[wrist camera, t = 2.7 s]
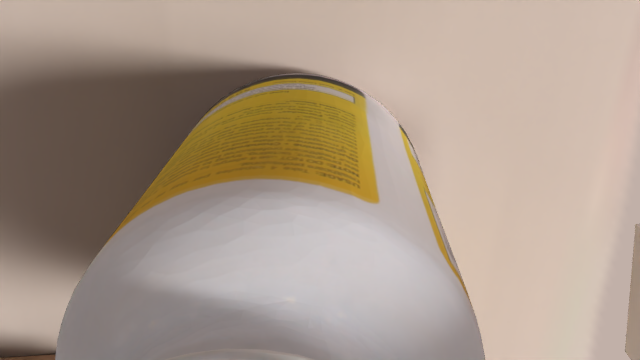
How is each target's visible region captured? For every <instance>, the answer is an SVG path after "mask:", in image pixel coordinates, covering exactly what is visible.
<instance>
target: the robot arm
mask: <svg viewBox="0 0 640 360" xmlns="http://www.w3.org/2000/svg"><path fill="white" fill-rule="evenodd" d="M625 352H626V353H627V355H628V356H629V357H630V359H631V360H640V224H636V226H635V238H634V250H633V262H632V275H631V285H630V297H629V309H628V322H627V334H626V346H625Z"/></svg>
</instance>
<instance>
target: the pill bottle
mask: <svg viewBox="0 0 640 360" xmlns="http://www.w3.org/2000/svg"><path fill="white" fill-rule="evenodd" d="M55 360H485V355H484V350H483V344H482V339H481V334H480V331H479V327H478V323H477V319H476V316H475V313H474V310H473V308H472V305H471V302H470V299H469V296H468V293H467V290H466V287H465V285H464V282H463V279H462V277H461V274H460V271H459V269H458V266H457V263H456V261H455V258H454V256H453V253H452V250H451V248H450V245H449V242H448V240H447V237H446V234H445V232H444V229H443V227H442V224H441V221H440V219H439V216H438V214H437V211H436V208H435V206H434V203H433V200H432V197H431V195H430V192H429V189H428V186H427V184H426V181H425V178H424V175H423V172H422V169H421V166H420V163H419V160H418V158H417V155H416V153H415V151H414V148H413V146H412V144H411V142H410V140H409V138H408V136H407V134H406V133H405V131H404V129H403V128H402V127H401V125H400V124H399V123H398V121H397V120H396V119H395V118H394V117H393V116H392V115H391V113H390V112H389V111H388V110H387V109H386V108H385V107H384V106H382V105H381V104H380V103H379V102H378V101H377V100H375V99H374V98H372V97H371V96H369V95H368V94H367V93H365V92H363V91H362V90H360V89H358V88H356V87H354V86H352V85H349V84H347V83H345V82H342V81H339V80H336V79H333V78H329V77H325V76H320V75H314V74H296V73H295V74H283V75H276V76H270V77H266V78H263V79H260V80H257V81H254V82H251V83H249V84H246V85H244V86H242V87H240V88H238V89H236V90H235V91H233V92H231V93H230V94H228V95H227V96H225V97H224V98H222V99H221V100H220V101H219V102H217V103H216V104H215V105H214V106H213V107H212V108H211V109H210V110H209V111H208V112H207V113H206V114H205V115H204V116H203V117H202V119H201V120H200V121H199V122H198V123H197V125H196V126H195V127H194V128H193V130H192V131H191V132H190V134H189V135H188V136H187V138H186V139H185V140H184V142H183V143H182V144H181V145H180V147H179V148H178V149H177V151H176V152H175V153H174V155H173V156H172V157H171V159H170V160H169V161H168V163H167V164H166V165H165V167H164V168H163V169H162V170H161V172H160V173H159V174H158V176H157V177H156V178H155V180H154V181H153V182H152V184H151V185H150V186H149V188H148V189H147V190H146V191H145V193H144V194H143V195H142V197H141V198H140V199H139V201H138V202H137V203H136V205H135V206H134V207H133V209H132V210H131V211H130V212H129V214H128V215H127V216H126V218H125V219H124V220H123V222H122V223H121V224H120V225H119V227H118V228H117V229H116V231H115V232H114V233H113V235H112V236H111V237H110V238H109V240H108V241H107V242H106V244H105V245H104V246H103V248H102V249H101V250H100V252H99V253H98V254H97V256H96V257H95V258H94V260H93V261H92V262H91V264H90V265H89V267H88V268H87V270H86V271H85V273H84V275H83V276H82V278H81V280H80V281H79V283H78V285H77V286H76V288H75V290H74V292H73V294H72V296H71V299H70V301H69V303H68V306H67V308H66V311H65V314H64V317H63V320H62V324H61V327H60V331H59V336H58V340H57V348H56V356H55Z"/></svg>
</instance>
